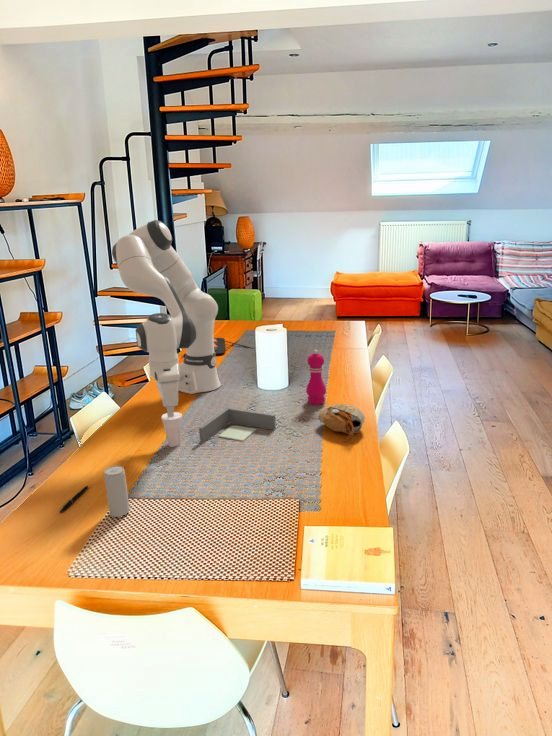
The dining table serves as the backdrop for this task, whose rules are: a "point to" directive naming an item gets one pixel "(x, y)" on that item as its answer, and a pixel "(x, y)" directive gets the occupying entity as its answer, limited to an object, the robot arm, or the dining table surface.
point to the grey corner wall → (238, 418)
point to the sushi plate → (223, 345)
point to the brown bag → (342, 418)
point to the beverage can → (116, 491)
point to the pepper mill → (316, 379)
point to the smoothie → (173, 428)
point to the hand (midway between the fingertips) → (168, 410)
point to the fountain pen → (73, 499)
